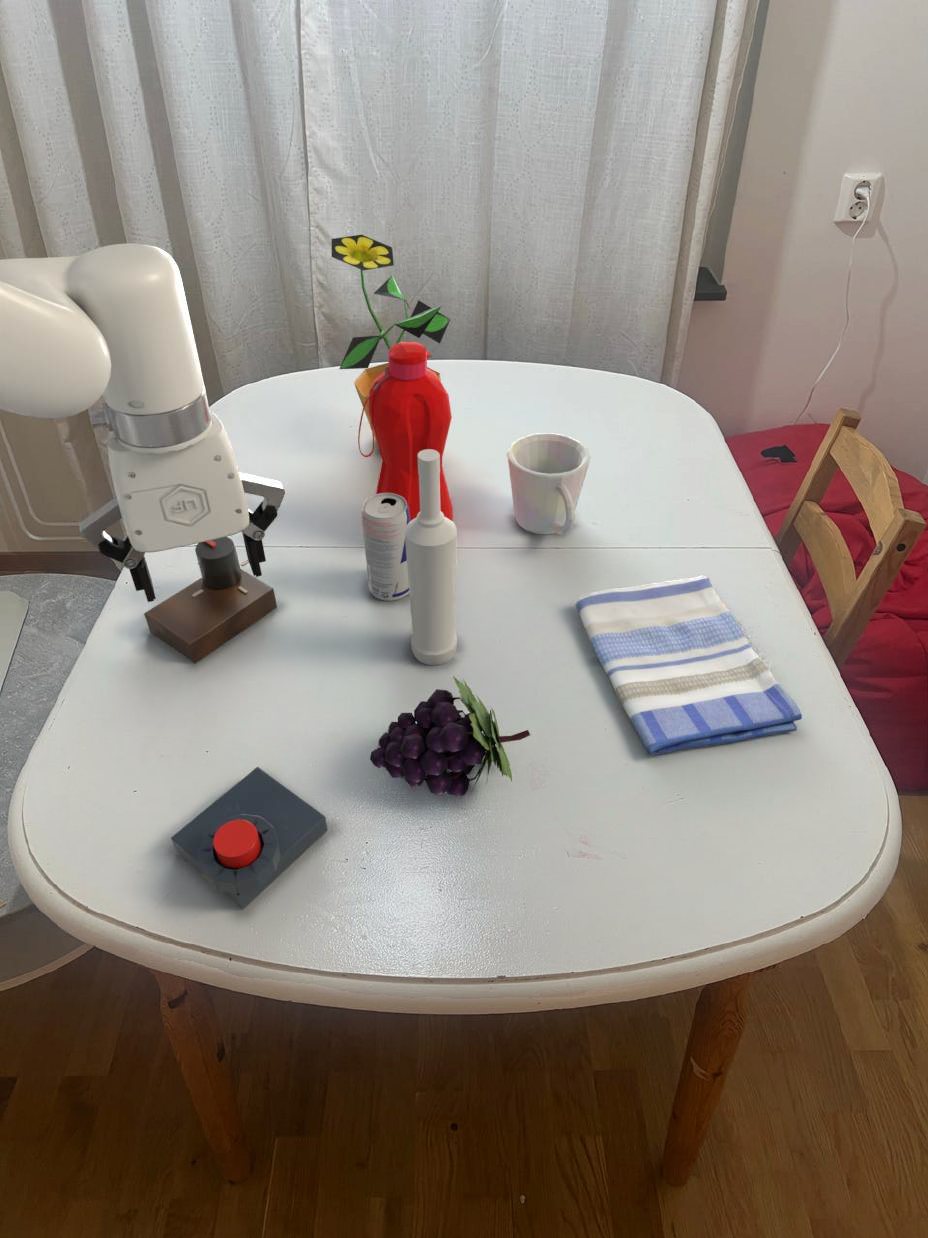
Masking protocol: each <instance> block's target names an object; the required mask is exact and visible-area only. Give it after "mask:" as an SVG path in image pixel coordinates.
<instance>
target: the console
mask: <svg viewBox="0 0 928 1238" xmlns="http://www.w3.org/2000/svg"><path fill="white" fill-rule="evenodd" d="M248 564H249V561H248V559H247V560H245V561H243V562H242V563H240V567H245V566H246V565H248ZM197 565H198V566H199V563H198V562H197ZM240 569H241V574H242V576H241V579H240V581H239V582H238V583H237V584H236V585H234V586H232V587H230V588H227V589H221V590H217V589H211V588H209V587H207V586H206V585H205V584H204V582H203V579H202V577H200V578H198V579H197V580H196V581H194V582H192V583H190V584H189V585H187V586H186V587H184V588H183V589H181V590H179V591H178V592H176V593H175V594H173V595H171V596H169V597H167V598H166V599H165V600H163V601H161V602H159V604H157V605H155V606H153V607H152V608H150V609H149V610H147V611H145V612H144V613H143V615H144V618H145V620H146V624H147V627H148V631H149V633H150V634H152V635H153V636H154V637H155V638H157V639H159V640H160V641H161V642H162V643H164V644H166V645H167V646H168V647H170V648H172V649H173V650H174V651H176V652H177V653H179V654H180V655H181V656H183V657H184V658H186V659H187V660H189V661H190V662H191V663H193V664H195V665H196V664H197V663H198V662H200V661H202V660H203V659H204V658H206V657H208V656H209V655H211V654H212V653H213V652H214V651H216V650H217V649H219V648H220V647H223V645H225V644H226V643H228V642H229V641H231V640H232V639H234V638H235V637H236V636H238V635H239V634H241V633H243V632H244V631H245V630H247V629H248V628H250V627H251V626H253V625H254V624H256V623H257V622H258V621H259V620H261V619H263V618H264V617H266V616H267V615H268V614H270V613H271V612H273V611H274V610H275V609H278V604H277V600H276V594H275V588H274V587H272V586H271V585H269V584H267V583H266V582H264V581H263V580H261V579H259V578H258V577H256V576H254V575H253V574H250V573H249V572H247V571H245V570H244V569H242V568H240Z"/></svg>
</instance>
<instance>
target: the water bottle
mask: <svg viewBox="0 0 928 1238" xmlns="http://www.w3.org/2000/svg"><path fill="white" fill-rule="evenodd" d="M387 355H388V357H387V358H388V359H387V361H388V363H389V367H385V369H384V371H385V372H383V373H381V374H380V375H379V376H378V377H377V378H376V379H375V380H374V381H373V382H372V385H371V388H370V390H369V397H368V398H367V400H366V401H365V404H364V407H363V406H362V411H361V414H360V421H359V425H358V436H357V440H358V441H357V443H358V449H359V453H360V455H361V456H362V457H364V458H369V457H371V456H372V455H373V453H374V451H375V450H374V449H375V437H374V434H373V427H374V430H375V434H376V438H377V442H378V445H377V446H378V450H379V454H380V458H381V465H380V471H379V474H378V481H377V486H376V491H375V495H376V494H380V493H393V494H397V495H400V496H401V497H403V498H404V499H405V500H406V502H407V505H408V507H409V511H410V521H411V520H413V519H415V518H416V517H417V514H418V513H419V512H420V492H419V474H418V453H419V452H420V451H422V450H426V449H432V450H436V451H438V452H439V454H440V511H441V512H443V514H444V517H446V518H448V519H449V520H451V521H452V522H454V517H453V515H454V514H453V504H452V500H451V499H452V498H451V496H450V492H449V488H448V483H447V480H446V476H445V472H444V467H443V455H444V452H445V448H446V444H447V439H448V435H449V431H450V426H451V422H452V418H453V417H452V409H451V403H450V396H449V393H448V392H447V390H446V388H445V387H444V385H443V383H442V381H441V382H440V380H439V379H438V377H437V375H436V374H435V372H433V371H431V370H429V369H427V367H428V358H432V357H433V356H432V355H431V353H430V352H429V351H427V347H426V346H425V345H424V344H421V343H419V342H416V341H400V343H397V344H396V343H395V344H393V345H391V348H390V349H388V353H387ZM368 400H369V415H370V418H371V425H372V424H373V425H372V429H371V432H372V433H371V435H372V449H371V452H370V453H368V454H364V453H363V452H362V451H361V446H360V443H361V442H360V435H361V427H362V421H363V416H364V413H365V411H364V409H365V405H366V403H367V401H368Z"/></svg>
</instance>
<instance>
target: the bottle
mask: <svg viewBox="0 0 928 1238" xmlns="http://www.w3.org/2000/svg"><path fill="white" fill-rule="evenodd" d="M418 474H419V492H420V512H419V513H418V514H417V517H416V518H415V519H413V520H411V521H410V522H409V523H408V524H407V525H406V527H405V544H406V556H407V569H408V581H409V594H408V595H409V604H410V616H411V617H410V618H411V619H410V620H411V630H412V631H411V632H412V633H411V635H410V648H411V651H412V654H413V655H414V658H415V659H416V660H417V661H419V662H420V663H422V664H424V665H428V666H439V665H444V664H446V663H448V662H450V661H451V660H452V659H453V658H454V656H455V654H456V653H457V647H458V635H457V633H456V594H457V593H456V591H457V590H456V588H457V548H458V547H457V546H458V544H457V543H458V542H457V540H458V539H457V538H458V528H457V525H456V524H455V522H454V521H453V522H452V521H451V520H449V519H448V518H446V517H444V514H443V512H441V511H440V454H439V452H438V451H436V450H432V449H426V450H422V451H420V452H419V453H418Z"/></svg>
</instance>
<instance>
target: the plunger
mask: <svg viewBox="0 0 928 1238" xmlns="http://www.w3.org/2000/svg"><path fill="white" fill-rule="evenodd" d="M213 844H214V848H215V851H216V854H217V857H218V859H219V861H220V862H221V863H222V864H223V865H224V866H226V867H229V868H241V867H245V866H247V865H249V864H250V863H252V862H253V861H254V860H255V859H256V858H257V856H258V854H259V852H260V848H261V844H260V840H259V836H258V833H257V830H256V828H255V826H254V825H253V824H252V823H250V822H248V821H245V820H234V821H230V822H228V823H226V824H224V825H223V826H221V827H220V828H219V829H218V831H217V832H216V834H215V836H214V840H213Z"/></svg>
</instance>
